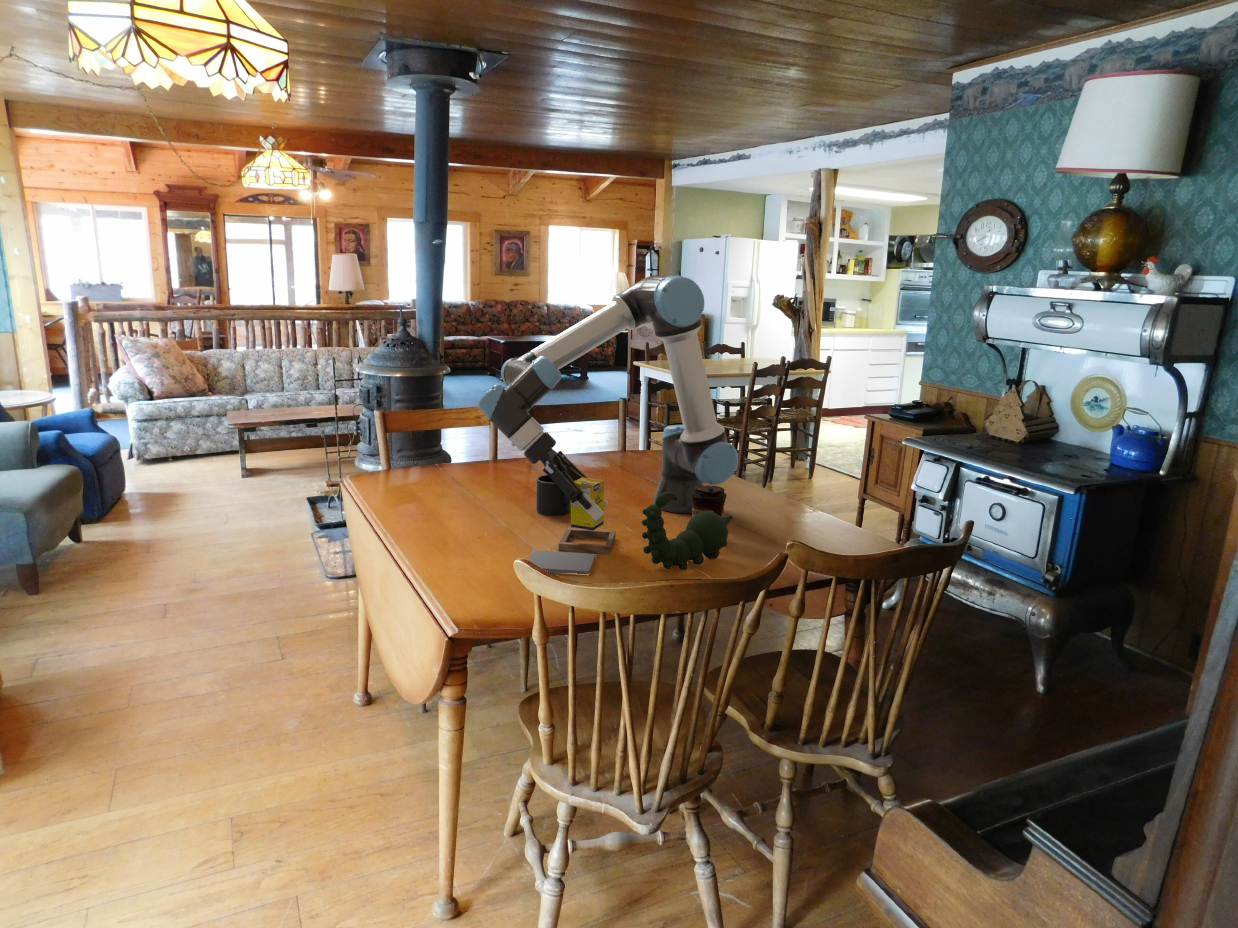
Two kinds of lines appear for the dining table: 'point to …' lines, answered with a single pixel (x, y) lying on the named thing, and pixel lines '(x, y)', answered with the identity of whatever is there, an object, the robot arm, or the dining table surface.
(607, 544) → the frame
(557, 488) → the mug
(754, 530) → the dining table surface
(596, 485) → the supplement box
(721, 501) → the coffee cup
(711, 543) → the toy figurine
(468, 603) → the dining table surface
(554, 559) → the mat
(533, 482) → the dining table surface
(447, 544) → the dining table surface
